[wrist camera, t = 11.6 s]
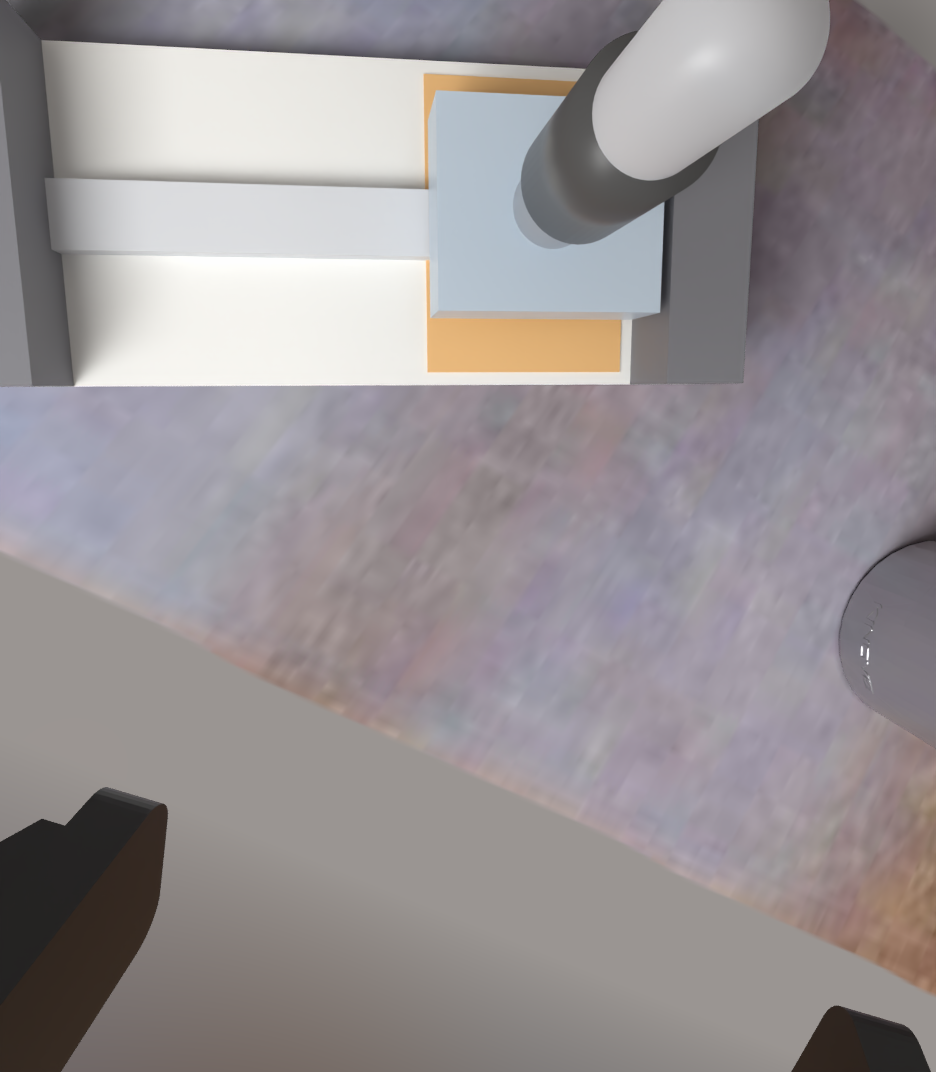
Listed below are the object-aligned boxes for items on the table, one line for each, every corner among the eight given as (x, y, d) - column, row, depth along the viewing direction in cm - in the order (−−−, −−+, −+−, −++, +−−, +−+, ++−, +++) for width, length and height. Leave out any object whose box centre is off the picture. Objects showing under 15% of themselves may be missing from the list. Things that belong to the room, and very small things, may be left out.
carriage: (637, 129, 30) (988, -193, 13) (631, 319, 31) (944, 240, 15) (427, 120, 29) (526, -243, 12) (430, 318, 30) (523, 230, 14)
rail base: (697, 89, 33) (763, 30, 27) (683, 384, 35) (743, 383, 30) (-31, 53, 29) (-118, -24, 23) (6, 386, 31) (-67, 386, 26)
